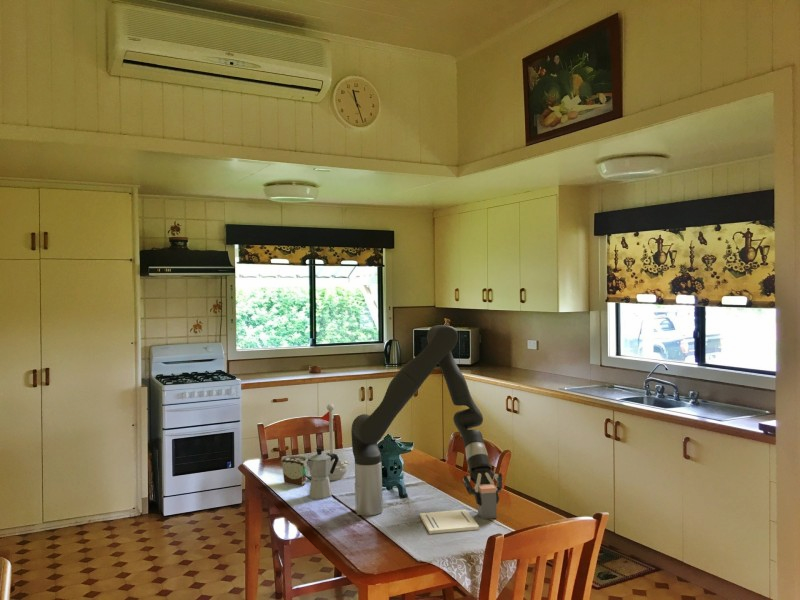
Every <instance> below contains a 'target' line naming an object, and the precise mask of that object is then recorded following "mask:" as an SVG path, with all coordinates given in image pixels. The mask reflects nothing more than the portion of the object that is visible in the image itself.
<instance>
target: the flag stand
mask: <svg viewBox="0 0 800 600" xmlns="http://www.w3.org/2000/svg"><path fill="white" fill-rule="evenodd" d="M326 409H327V410H328V411H327V412H326V413H325V414H324V415H323V416H321V417H320V419H322V420H323V421H326V422H328V428H329V430H328V431H329V432H328V433H329V434H328V435H329V454H335V452H334V451H335V450H334V448H335V447H334V419H333V417H334V416H333V411H334V409H335V405H334V404H332V403H329V404H327V405H326ZM334 460H335V459H334ZM334 460H332V461H331V463H330V470H331V468H332V465H333V463H334ZM348 470H349V462H348V461H347V460H345V461H343V459H340V458H339V460H338V463H337V465H336V467H335V470H334V472H333V474H331V473H329V475H328V477H329V481H338V480H339V481H340V480H342V479H344V478H346V477H347V471H348Z"/></svg>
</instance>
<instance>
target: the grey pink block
mask: <svg viewBox="0 0 800 600" xmlns="http://www.w3.org/2000/svg"><path fill="white" fill-rule="evenodd" d="M495 486H496V485H495ZM495 486H494V485H493V484H492V485H491V484H480V486H478V488H479V493H480V497H481V501H482V504H481V506H479V505H478V504H477V514H478V516H479V517H480V518H481V520H486V519H497V518H498V515H497V512H498V511H497V504H496V488H497V486H496V487H495Z"/></svg>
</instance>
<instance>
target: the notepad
mask: <svg viewBox="0 0 800 600" xmlns="http://www.w3.org/2000/svg"><path fill="white" fill-rule="evenodd" d="M419 517H420V519H421V520H422V523H423V525H424V526H425V528H426V530H427V532H428V534H430V535H432V534H442V533H443V534H444V533H452V532H453V533H454V532H455V533H456V532H463V531H464V532H465V531H475V530H477V531H478V530H480V525H479V524H478V523H477V521H476V520H475V519H474V518H473V517H472V515H471V514H470V512H469V511H468V510H467V509H466V508H464V509H453V510H443V511H442V510H441V511H432V512H431V511H430V512H422V513H419Z"/></svg>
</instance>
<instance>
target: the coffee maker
mask: <svg viewBox="0 0 800 600" xmlns="http://www.w3.org/2000/svg"><path fill="white" fill-rule="evenodd" d="M315 449H316V454H312V455H311V456H308V457H307V461H306V462H305V463H307V467H308V469H309V474H310V476H311V479H310V486H309V495H308V498H310V499H312V500H325V499H328V498H331V497H332V495H333V492H332V486H331V483H330V482H331V480H329V477H328V475H329V473H331V474H333V472H334V470H335V467H336V465H337V463H338V460H339V459H340V458H339V456H338V455H337V454H336V453H334V454H330V452H327V453H322V452H323V447H316V448H315ZM332 460H334V463H333V465H332V468H331V470H330V463H331V461H332Z"/></svg>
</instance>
